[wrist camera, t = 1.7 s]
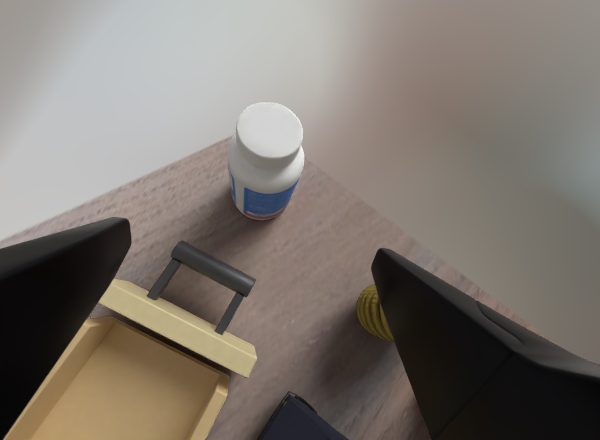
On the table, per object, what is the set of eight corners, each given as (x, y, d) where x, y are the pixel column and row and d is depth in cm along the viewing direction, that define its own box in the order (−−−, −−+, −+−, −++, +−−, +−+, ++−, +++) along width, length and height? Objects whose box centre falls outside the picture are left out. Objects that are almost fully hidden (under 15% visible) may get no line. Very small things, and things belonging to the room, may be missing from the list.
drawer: (163, 232, 20) (144, 217, 16) (279, 294, 21) (288, 294, 17) (-39, 502, 14) (-150, 583, 10) (138, 580, 14) (98, 686, 10)
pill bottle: (299, 195, 25) (333, 135, 16) (261, 233, 23) (275, 190, 14) (259, 158, 25) (269, 78, 16) (218, 192, 23) (203, 123, 14)
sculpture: (414, 282, 25) (490, 276, 17) (422, 326, 23) (507, 340, 16) (339, 286, 23) (386, 281, 15) (343, 334, 22) (397, 354, 14)
